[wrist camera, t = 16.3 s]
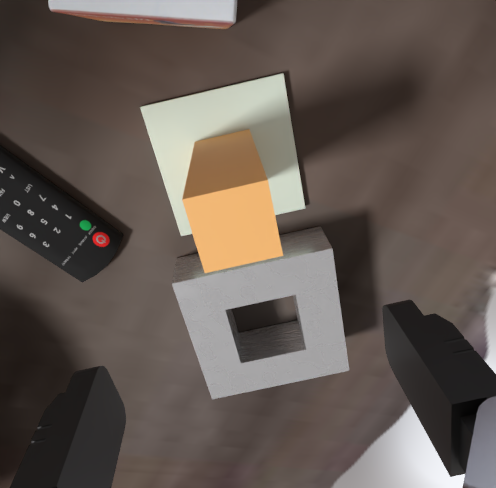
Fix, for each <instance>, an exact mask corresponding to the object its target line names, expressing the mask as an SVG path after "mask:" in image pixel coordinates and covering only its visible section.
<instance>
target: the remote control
mask: <svg viewBox="0 0 496 488" xmlns="http://www.w3.org/2000/svg"><path fill="white" fill-rule="evenodd" d="M0 229H1V230H2V231H4V232H5V233H7V234H8V235H10V236H12V237H13V238H15V239H16V240H18V241H19V242H21V243H22V244H24V245H25V246H27V247H29V248H30V249H32V250H33V251H35V252H36V253H38V254H39V255H41V256H42V257H44V258H45V259H47V260H49V261H50V262H52V263H53V264H55V265H56V266H58V267H59V268H61V269H62V270H64V271H66V272H67V273H69V274H70V275H72V276H73V277H75V278H76V279H78V280H79V281H81V282H84V281H86V280H88V279H89V278H91V277H93V276H95V275H97V274H98V273H99V272H100V271H101V270H102V269H103V268H105V267H106V266H107V265H108V263H109V262H110V261H111V259H112V258H113V256H114V255H115V253H116V251H117V249H118V247H119V244H120V242H121V239H122V236H123V234H122V233H120V232H119V231H118V230H116V229H115V228H114V227H112V226H111V225H109V224H108V223H107V222H105V221H104V220H102V219H101V218H100V217H98V216H97V215H96V214H94V213H93V212H91V211H90V210H89V209H87V208H86V207H84V206H83V205H82V204H80V203H79V202H78V201H76V200H75V199H73V198H72V197H71V196H69V195H68V194H67V193H65V192H64V191H62V190H61V189H60V188H58V187H57V186H55V185H54V184H53V183H51V182H50V181H49V180H47V179H46V178H44V177H43V176H42V175H40V174H39V173H37V172H36V171H35V170H33V169H32V168H31V167H29V166H28V165H26V164H25V163H24V162H22V161H21V160H19V159H18V158H17V157H15V156H14V155H13V154H11V153H10V152H8V151H7V150H6V149H4V148H3V147H2V146H0Z"/></svg>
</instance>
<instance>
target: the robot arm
mask: <svg viewBox="0 0 496 488" xmlns="http://www.w3.org/2000/svg"><path fill="white" fill-rule="evenodd" d="M383 324H384V337H385V349H386V354H387V358H388V361H389V364H390V366H391V368H392V370H393V372H394V374H395V376H396V378H397V380H398V382H399V383H400V385H401V387H402V389H403V391H404V392H405V394H406V396H407V398H408V400H409V402H410V403H411V405H412V407H413V409H414V411H415V413H416V414H417V416H418V418H419V420H420V422H421V424H422V425H423V427H424V429H425V431H426V433H427V434H428V436H429V438H430V440H431V442H432V444H433V446H434V447H435V449H436V451H437V453H438V455H439V456H440V458H441V460H442V462H443V464H444V466H445V468H446V469H447V471H448V473H449V475H450V476H456V475H461V474H465V479H464V484H463V488H496V374H495V373H494V372H493V370H492V369H491V368H490V367H489V366H488V365H487V363H486V362H485V361H484V360H483V359H482V358H481V356H480V355H479V354H478V353H477V352H476V351H474V349H473V347H472V346H471V345H470V343H469V342H468V341H467V340H465V339H464V336H463V335H462V334H461V333H460V332H459V331H458V329H457V328H456V327H455V326H454V325H453V323H451V322H449V321H447V320H446V319H444V318H442V317H440V316H439V315H437V314H430V315H426V316H424V315H423V314H422V313H421V311H420V310H419V309H418V307H417V306H416V305H415V303H414V302H413V301H412V300H406V301H401V302H397V303H392V304H388V305H384V306H383ZM125 424H126V414H125V408H124V404H123V402H122V400H121V398H120V395H119V393H118V391H117V389H116V387H115V385H114V383H113V381H112V379H111V377H110V375H109V372H108V371H107V369H106V368H105V367H104V366H98V367H94V368H89V369H85V370H80V371H76V372H75V373H74V374H73V376H72V379H71V381H70V383H69V386H68V388H67V390H66V392H65V393H61V394H59V395H58V396H57V397H56V398H55V399H54V400H53V402H52V403H51V404H50V405H49V406H48V407H47V409H46V410H45V412H44V414H43V416H42V418H41V420H40V423H39V425H38V427H37V428H38V430H37V431H35V434H34V436H33V438H32V440H31V445H29V447H28V449H27V451H26V453H25V456H24V458H23V460H22V462H21V464H20V467H19V469H18V471H17V473H16V475H15V477H14V480H13V482H12V484H11V486H10V488H111V486H112V482H113V477H114V473H115V469H116V464H117V460H118V455H119V451H120V447H121V442H122V438H123V434H124V429H125Z"/></svg>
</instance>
